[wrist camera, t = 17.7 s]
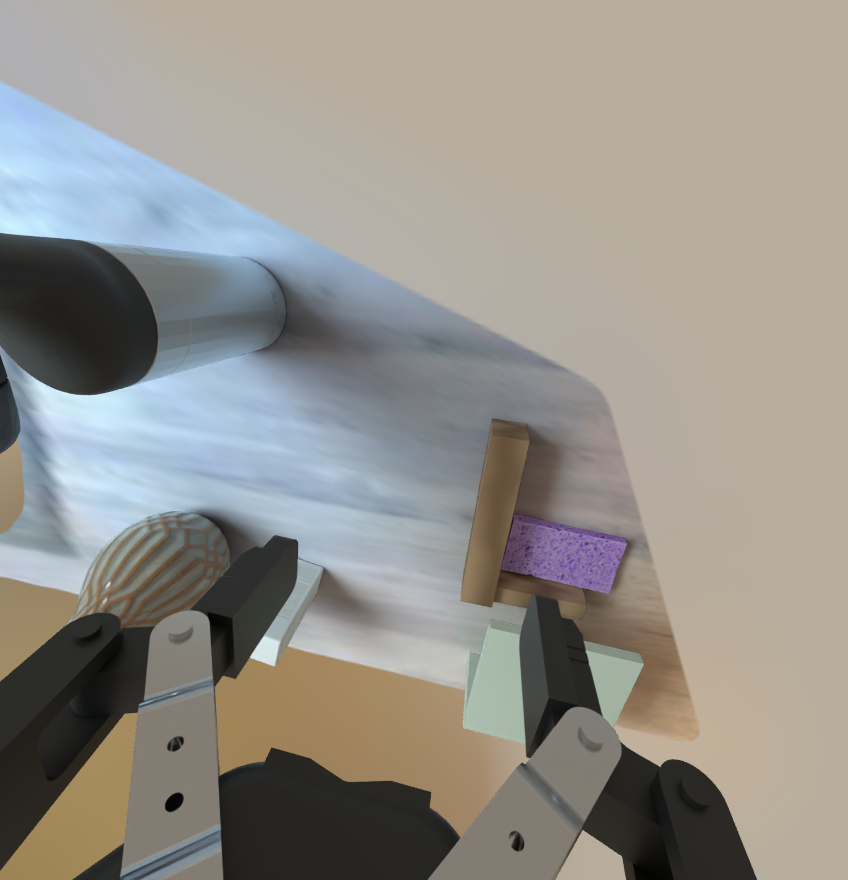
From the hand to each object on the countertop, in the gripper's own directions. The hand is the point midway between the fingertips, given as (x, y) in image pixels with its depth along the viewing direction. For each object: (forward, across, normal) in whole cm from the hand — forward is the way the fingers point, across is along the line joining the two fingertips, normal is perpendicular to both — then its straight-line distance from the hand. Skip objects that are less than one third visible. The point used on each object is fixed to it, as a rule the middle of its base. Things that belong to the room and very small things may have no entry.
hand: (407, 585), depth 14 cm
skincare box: (+30, +17, +29) cm, 45 cm away
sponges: (+31, -14, +17) cm, 38 cm away
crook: (+30, -10, +13) cm, 35 cm away
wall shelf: (+30, -14, +30) cm, 45 cm away
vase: (+30, +31, +27) cm, 51 cm away
